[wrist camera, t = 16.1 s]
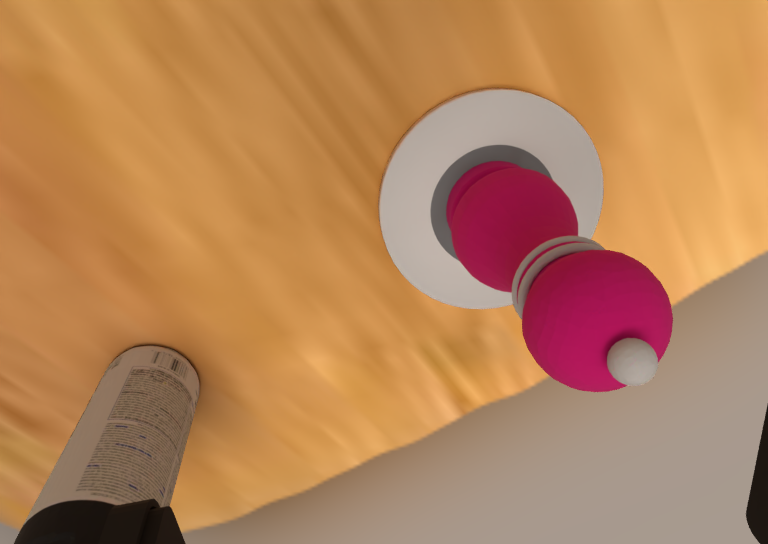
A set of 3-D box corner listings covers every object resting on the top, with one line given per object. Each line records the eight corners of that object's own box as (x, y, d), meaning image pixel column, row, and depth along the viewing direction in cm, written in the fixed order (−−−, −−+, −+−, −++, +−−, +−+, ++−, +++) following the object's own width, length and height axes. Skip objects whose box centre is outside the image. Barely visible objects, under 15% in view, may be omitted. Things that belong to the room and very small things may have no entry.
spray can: (90, 354, 43) (-68, 615, 25) (185, 331, 43) (95, 576, 25) (126, 427, 46) (8, 710, 28) (215, 406, 46) (154, 675, 28)
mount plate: (365, 104, 38) (367, 108, 37) (600, 73, 39) (610, 76, 38) (390, 315, 44) (392, 324, 43) (592, 285, 45) (600, 293, 44)
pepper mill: (536, 259, 42) (708, 454, 24) (432, 257, 41) (530, 457, 23) (555, 155, 39) (767, 285, 21) (444, 149, 38) (566, 280, 20)
